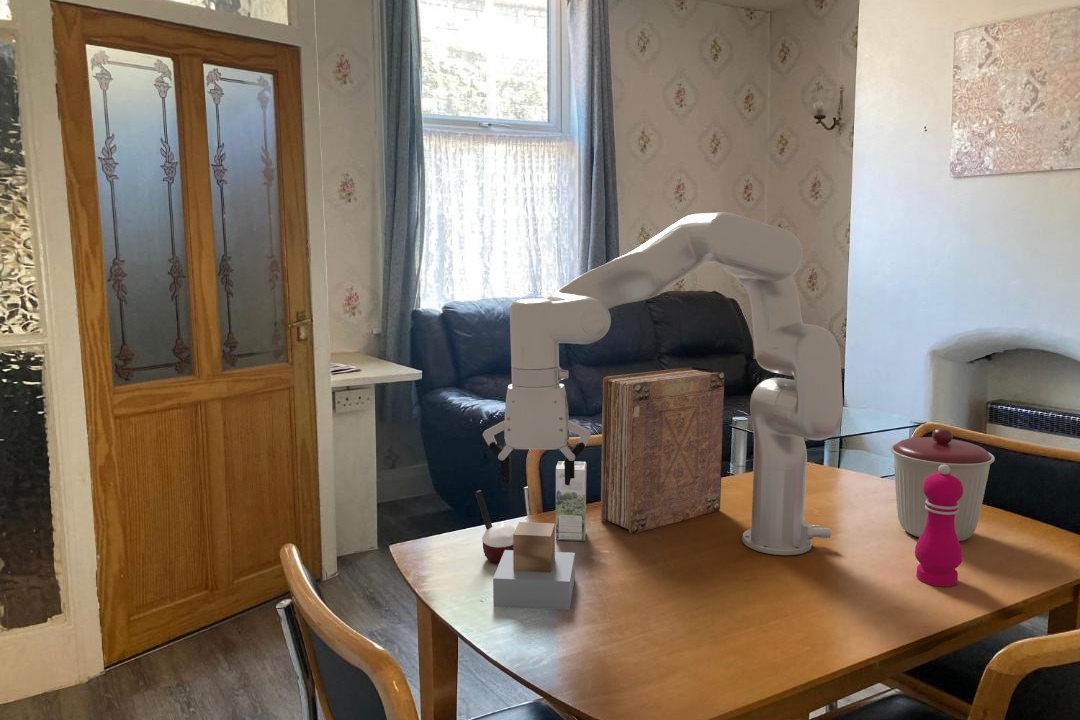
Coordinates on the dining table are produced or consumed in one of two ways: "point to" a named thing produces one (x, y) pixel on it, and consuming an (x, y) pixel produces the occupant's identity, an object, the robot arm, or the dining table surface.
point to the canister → (925, 458)
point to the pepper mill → (940, 530)
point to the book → (661, 447)
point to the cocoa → (494, 534)
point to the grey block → (535, 584)
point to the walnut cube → (534, 547)
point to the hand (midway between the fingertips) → (538, 482)
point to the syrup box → (571, 503)
